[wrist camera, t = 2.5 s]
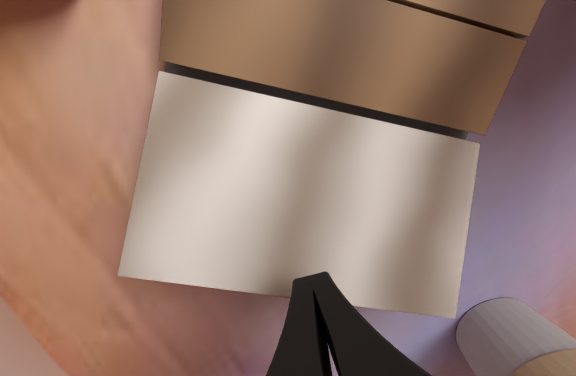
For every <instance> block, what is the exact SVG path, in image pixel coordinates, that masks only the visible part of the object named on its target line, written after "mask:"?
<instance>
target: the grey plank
mask: <svg viewBox="0 0 576 376" xmlns="http://www.w3.org/2000/svg"><path fill="white" fill-rule="evenodd" d="M479 149H480V143H476V142H471V141H467V140H462V139H458V138H454V137H449V136H445V135H440V134H436V133H432V132H427V131H423V130H418V129H414V128H409V127H405V126H401V125H396V124H392V123H387V122H383V121H379V120H374V119H370V118H365V117H361V116H357V115H352V114H348V113H343V112H339V111H334V110H330V109H326V108H321V107H317V106H312V105H308V104H304V103H299V102H295V101H290V100H286V99H282V98H277V97H273V96H268V95H264V94H259V93H255V92H251V91H246V90H242V89H237V88H233V87H229V86H224V85H220V84H215V83H211V82H206V81H202V80H198V79H193V78H189V77H184V76H180V75H176V74H171V73H167V72H162V71H159V73H158V78H157V83H156V88H155V93H154V98H153V103H152V108H151V113H150V118H149V123H148V128H147V133H146V138H145V143H144V147H143V152H142V157H141V162H140V167H139V172H138V177H137V182H136V187H135V192H134V197H133V202H132V207H131V212H130V217H129V222H128V226H127V231H126V236H125V241H124V246H123V251H122V256H121V261H120V266H119V271H118V276H122V277H130V278H138V279H146V280H154V281H161V282H169V283H177V284H185V285H193V286H201V287H209V288H217V289H224V290H232V291H240V292H248V293H256V294H264V295H272V296H280V297H287V298H291V292H292V282H293V281H294V279H297V278H301V277H305V276H309V275H313V274H317V273H321V272H324V271H326V272H328V273H329V274H330V276H331V278H332V280H333V281H334V283H335V284H336V286H337V287H338V288H339V290H340V291H341V292H342V294H343V295H344V296H345V297H346V299H347V300H348V301H349V302H350V303H351V304H352V306H358V307H366V308H374V309H382V310H390V311H398V312H406V313H413V314H421V315H429V316H437V317H445V318H453V319H455V318H456V311H457V304H458V297H459V290H460V283H461V276H462V269H463V262H464V255H465V247H466V240H467V233H468V226H469V219H470V212H471V205H472V198H473V191H474V184H475V177H476V170H477V163H478V156H479Z"/></svg>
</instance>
